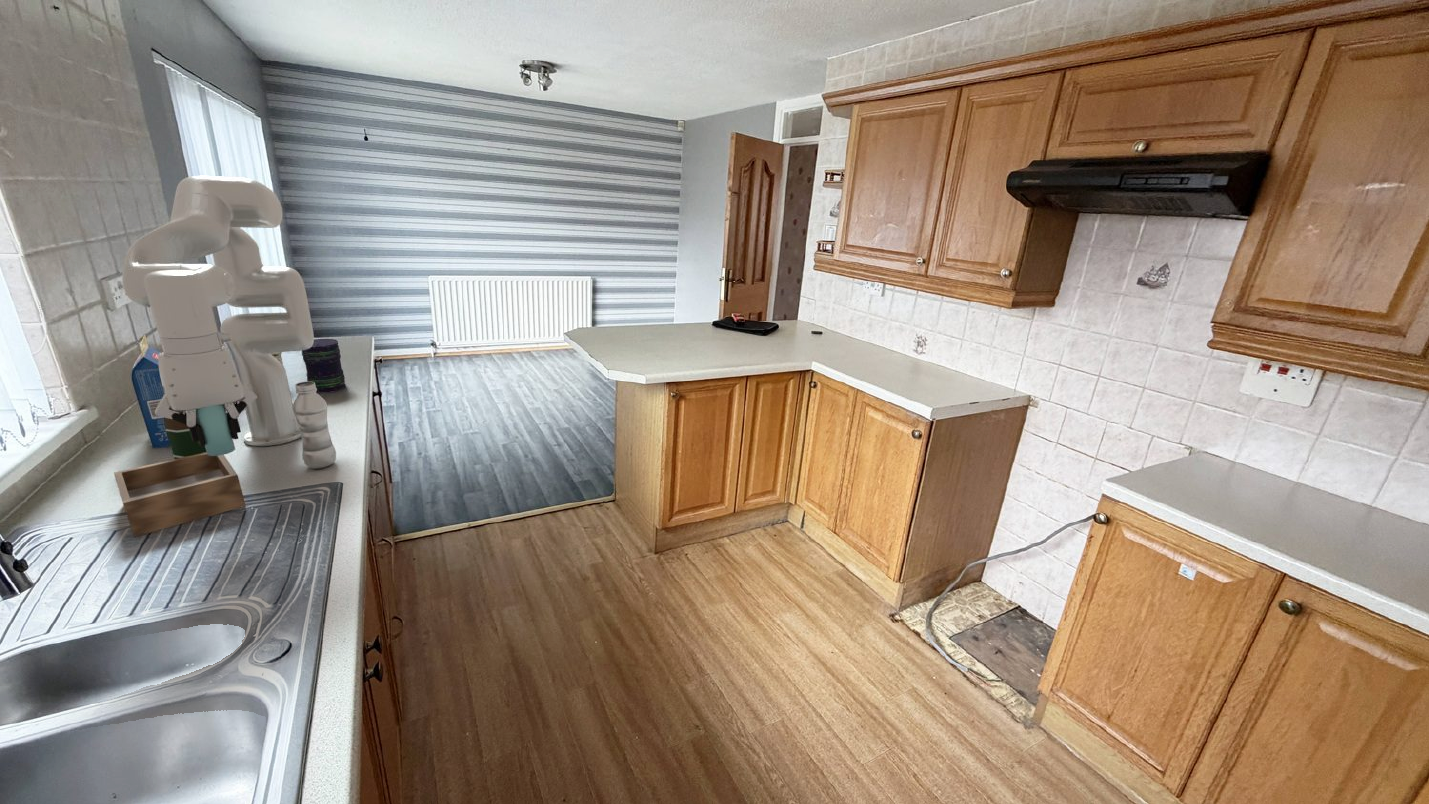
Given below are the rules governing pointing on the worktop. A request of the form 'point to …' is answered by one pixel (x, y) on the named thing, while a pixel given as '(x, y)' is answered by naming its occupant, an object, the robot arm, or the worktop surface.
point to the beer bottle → (181, 438)
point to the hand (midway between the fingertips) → (218, 439)
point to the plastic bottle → (313, 426)
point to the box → (178, 491)
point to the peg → (215, 430)
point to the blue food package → (150, 393)
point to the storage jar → (324, 365)
